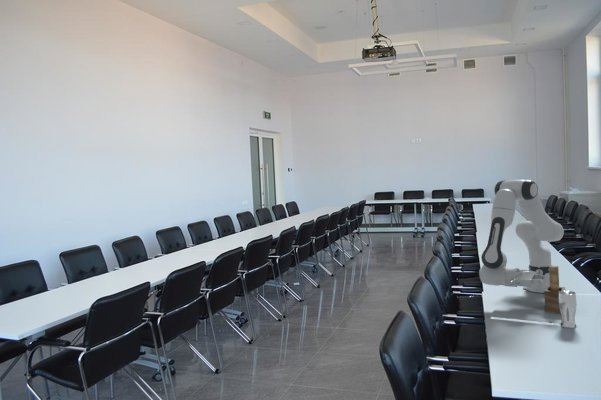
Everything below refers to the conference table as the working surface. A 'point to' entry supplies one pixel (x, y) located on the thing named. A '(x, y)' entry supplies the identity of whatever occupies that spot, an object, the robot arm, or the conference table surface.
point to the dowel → (554, 278)
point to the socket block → (552, 299)
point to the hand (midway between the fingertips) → (543, 279)
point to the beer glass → (567, 308)
